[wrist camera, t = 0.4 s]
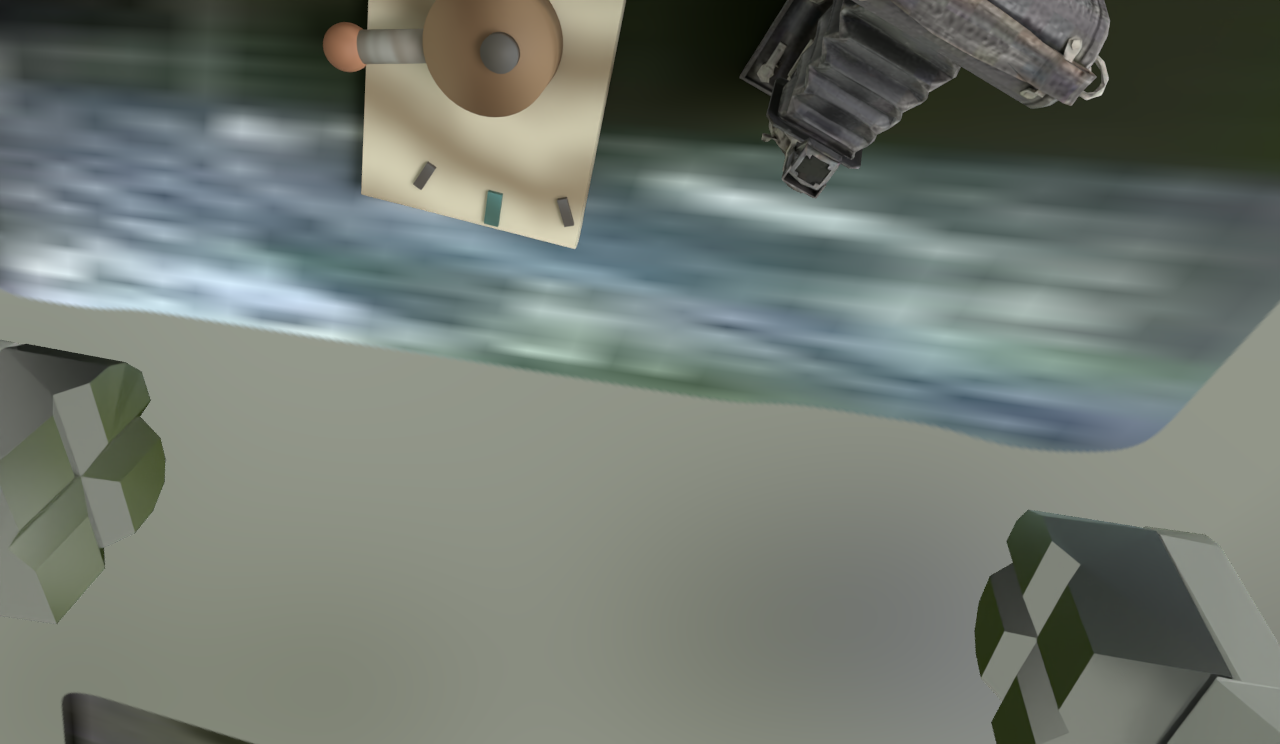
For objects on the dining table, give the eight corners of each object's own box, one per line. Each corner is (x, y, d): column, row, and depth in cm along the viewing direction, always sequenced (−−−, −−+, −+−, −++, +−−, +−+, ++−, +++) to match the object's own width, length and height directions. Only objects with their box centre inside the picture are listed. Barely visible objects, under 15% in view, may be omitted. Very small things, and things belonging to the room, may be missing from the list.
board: (387, -260, 43) (375, -262, 42) (662, -187, 43) (659, -186, 42) (368, 187, 57) (359, 195, 56) (578, 241, 57) (574, 251, 56)
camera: (730, 31, 52) (655, 240, 39) (920, -269, 40) (903, -111, 27) (880, 125, 54) (857, 354, 41) (1105, -132, 42) (1174, 76, 29)
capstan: (556, -32, 47) (541, -20, 44) (568, 100, 50) (555, 120, 48) (321, -25, 48) (292, -13, 45) (350, 102, 52) (325, 121, 49)
